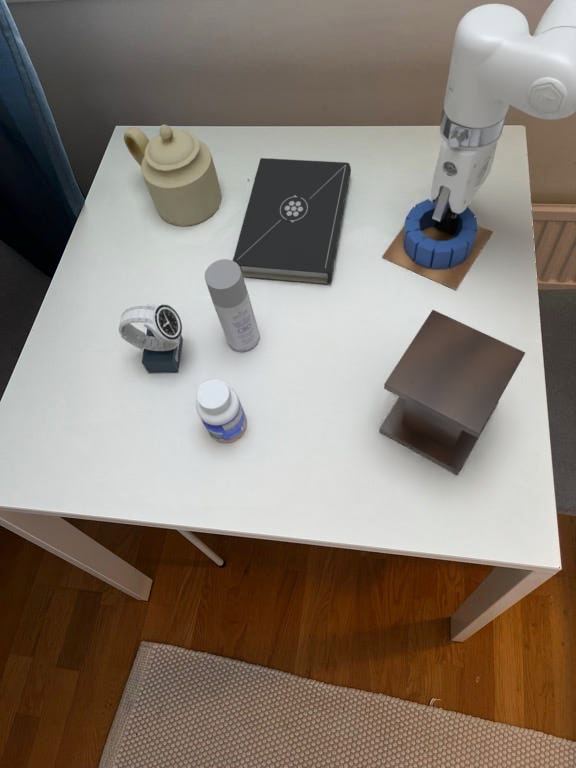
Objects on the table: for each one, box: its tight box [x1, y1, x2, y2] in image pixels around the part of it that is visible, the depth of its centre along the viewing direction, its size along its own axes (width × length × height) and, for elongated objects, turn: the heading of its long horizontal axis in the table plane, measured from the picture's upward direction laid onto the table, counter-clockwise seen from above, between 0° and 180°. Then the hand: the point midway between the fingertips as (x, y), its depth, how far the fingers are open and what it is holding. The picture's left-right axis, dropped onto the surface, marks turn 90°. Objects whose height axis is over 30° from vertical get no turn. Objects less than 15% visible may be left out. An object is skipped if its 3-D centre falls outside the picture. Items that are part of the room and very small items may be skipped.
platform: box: [379, 309, 526, 476], centre depth 68 cm, size 11×11×14 cm
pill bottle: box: [195, 378, 248, 443], centre depth 73 cm, size 5×5×10 cm
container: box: [204, 259, 261, 353], centre depth 76 cm, size 5×5×15 cm
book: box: [232, 157, 352, 286], centre depth 90 cm, size 22×15×3 cm
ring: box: [403, 198, 478, 269], centre depth 85 cm, size 10×10×4 cm
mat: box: [381, 224, 494, 291], centre depth 86 cm, size 12×12×1 cm
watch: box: [118, 303, 184, 374], centre depth 78 cm, size 6×8×11 cm
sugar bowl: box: [123, 124, 222, 227], centre depth 89 cm, size 15×11×15 cm
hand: (449, 222), depth 87 cm, fingers closed on ring, 2 cm apart
